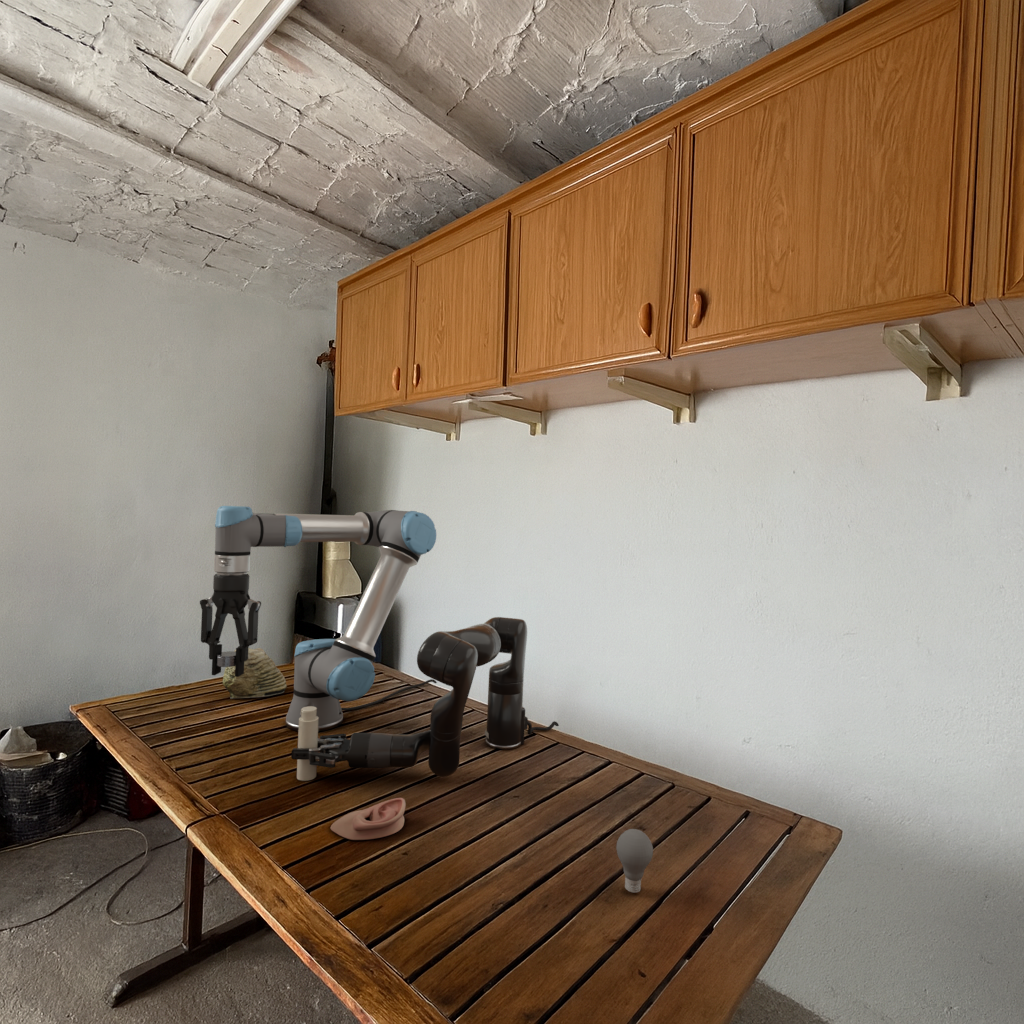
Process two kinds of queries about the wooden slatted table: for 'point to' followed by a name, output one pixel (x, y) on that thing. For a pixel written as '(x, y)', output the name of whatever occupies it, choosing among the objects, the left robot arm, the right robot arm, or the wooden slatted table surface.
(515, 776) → the wooden slatted table surface
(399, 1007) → the wooden slatted table surface
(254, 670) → the fossil
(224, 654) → the lid
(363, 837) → the anatomical model
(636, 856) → the light bulb
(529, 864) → the wooden slatted table surface
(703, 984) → the wooden slatted table surface
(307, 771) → the beige cylinder
